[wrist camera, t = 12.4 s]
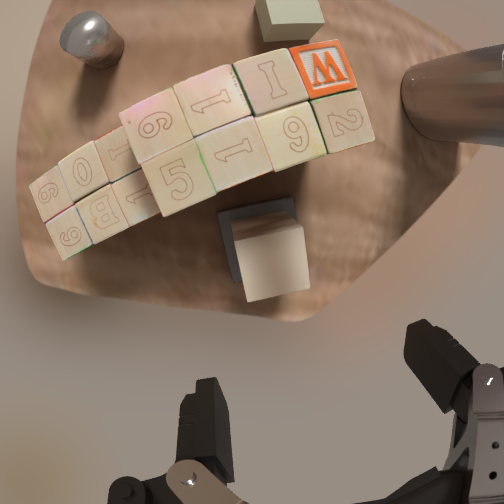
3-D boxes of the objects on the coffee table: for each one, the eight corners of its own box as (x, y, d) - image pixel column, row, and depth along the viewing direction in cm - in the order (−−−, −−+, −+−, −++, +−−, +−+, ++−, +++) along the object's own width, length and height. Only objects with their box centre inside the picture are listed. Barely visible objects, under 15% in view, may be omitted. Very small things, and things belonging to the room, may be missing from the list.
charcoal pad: (291, 196, 27) (293, 197, 26) (301, 264, 29) (303, 267, 28) (217, 211, 26) (217, 213, 26) (232, 279, 29) (233, 283, 28)
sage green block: (299, 4, 20) (312, -16, 16) (309, 39, 22) (324, 23, 17) (254, 6, 20) (261, -16, 16) (263, 42, 21) (272, 24, 17)
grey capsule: (122, 28, 19) (102, 3, 13) (126, 60, 20) (104, 40, 15) (86, 42, 19) (59, 23, 13) (89, 75, 20) (60, 60, 15)
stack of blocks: (104, 227, 26) (40, 280, 14) (80, 170, 24) (0, 190, 12) (311, 143, 25) (380, 141, 14) (289, 82, 23) (341, 37, 12)
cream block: (284, 210, 26) (302, 227, 21) (292, 260, 28) (310, 288, 22) (230, 221, 26) (234, 241, 20) (241, 271, 28) (247, 302, 22)
